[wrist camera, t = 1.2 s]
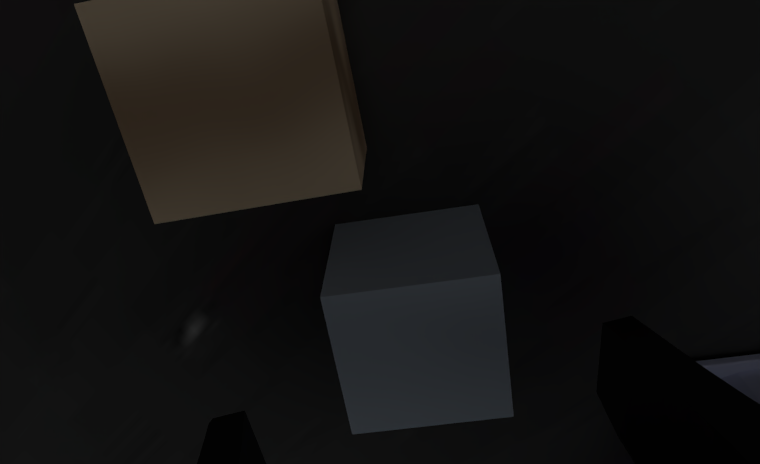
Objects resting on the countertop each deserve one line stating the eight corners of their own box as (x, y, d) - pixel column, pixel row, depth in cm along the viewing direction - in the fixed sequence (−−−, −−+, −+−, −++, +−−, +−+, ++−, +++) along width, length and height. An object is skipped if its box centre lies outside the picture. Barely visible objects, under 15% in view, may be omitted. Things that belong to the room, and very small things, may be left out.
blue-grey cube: (490, 325, 24) (513, 416, 19) (360, 341, 24) (352, 434, 20) (478, 203, 22) (500, 274, 17) (335, 223, 22) (320, 297, 18)
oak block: (367, 146, 21) (361, 189, 17) (194, 175, 22) (154, 223, 18) (328, -48, 19) (312, -45, 15) (134, -9, 19) (73, 4, 15)
